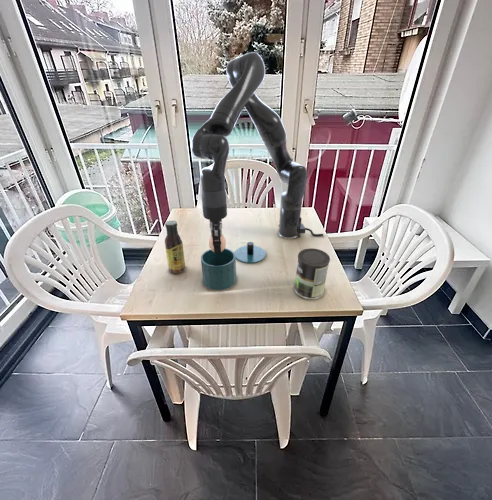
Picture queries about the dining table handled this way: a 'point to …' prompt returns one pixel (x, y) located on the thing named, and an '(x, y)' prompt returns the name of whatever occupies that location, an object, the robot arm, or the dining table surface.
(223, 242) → the egg
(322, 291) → the coffee can
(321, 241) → the dining table surface
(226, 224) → the dining table surface
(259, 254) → the pot lid
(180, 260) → the sauce bottle
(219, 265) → the pot
